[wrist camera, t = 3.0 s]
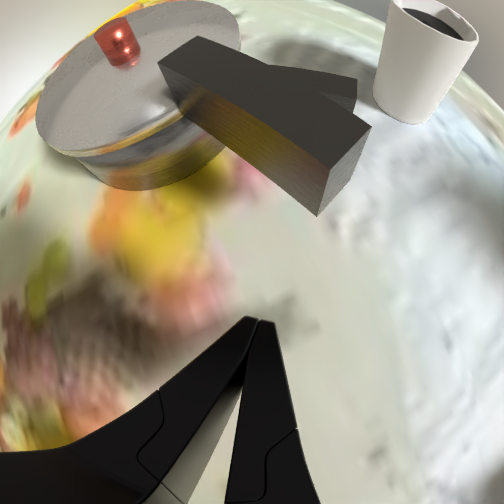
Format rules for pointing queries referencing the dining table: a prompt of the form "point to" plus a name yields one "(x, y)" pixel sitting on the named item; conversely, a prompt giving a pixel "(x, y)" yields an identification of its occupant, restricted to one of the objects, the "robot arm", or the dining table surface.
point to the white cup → (420, 58)
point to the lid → (199, 99)
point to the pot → (193, 142)
